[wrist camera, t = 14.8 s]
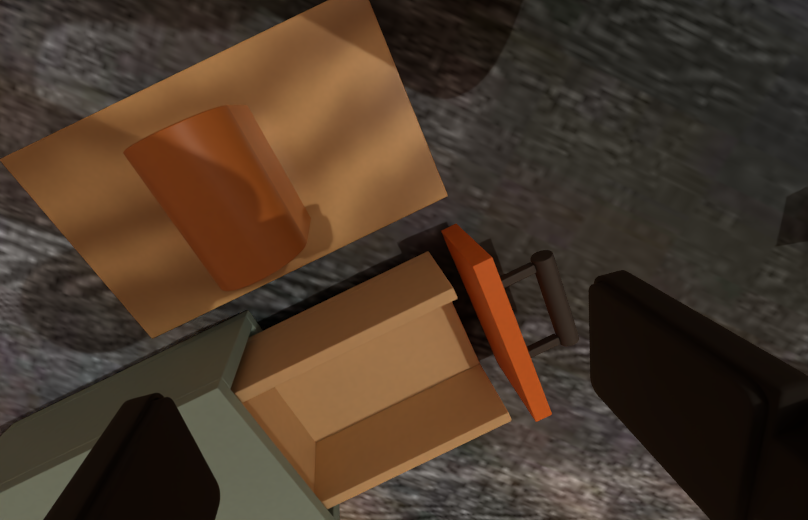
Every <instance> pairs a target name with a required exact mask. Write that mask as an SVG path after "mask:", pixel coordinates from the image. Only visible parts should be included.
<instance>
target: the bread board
mask: <svg viewBox="0 0 808 520" xmlns="http://www.w3.org/2000/svg"><path fill="white" fill-rule="evenodd" d="M223 105H247V106H248V107H249V109H250V111H251V113H252V114H253V116H254V118H255V120H256V122H257V123H258V125H259V127H260V129H261V130H262V132H263V134H264V136H265V138H266V139H267V141H268V143H269V145H270V146H271V148H272V150H273V152H274V153H275V155H276V157H277V159H278V161H279V162H280V164H281V166H282V168H283V169H284V171H285V173H286V175H287V177H288V178H289V180H290V182H291V184H292V185H293V187H294V189H295V191H296V192H297V194H298V196H299V198H300V200H301V201H302V203H303V205H304V207H305V208H306V210H307V212H308V214H309V216H310V217H311V222H310V228H309V234H308V240H307V244H306V246H305V248H304V249H303V250H302V251H301V253H300V254H299V255H298V256H296V257H295V258H294V259H293V260H292V261H291V262H289V263H288V264H287V265H285V266H284V267H282V268H281V269H279V270H278V271H276V272H275V273H273V274H271V275H270V276H268V277H266V278H264V279H262V280H260V281H258V282H256V283H254V284H252V285H249V286H247V287H244V288H241V289H238V290H234V291H228V292H227V291H223V290H221V289H220V287H219V286H218V285H217V283H216V282H215V281H214V279H213V278H212V276H211V275H210V274H209V272H208V271H207V269H206V268H205V267H204V265H203V264H202V262H201V261H200V260H199V258H198V257H197V255H196V254H195V253H194V251H193V250H192V249H191V247H190V246H189V244H188V243H187V242H186V240H185V239H184V237H183V236H182V235H181V233H180V232H179V230H178V229H177V228H176V226H175V225H174V224H173V222H172V221H171V219H170V218H169V217H168V215H167V214H166V212H165V211H164V210H163V208H162V207H161V205H160V204H159V203H158V201H157V200H156V199H155V197H154V196H153V194H152V193H151V192H150V190H149V189H148V187H147V186H146V185H145V183H144V182H143V180H142V179H141V178H140V176H139V175H138V174H137V172H136V171H135V169H134V168H133V167H132V165H131V164H130V162H129V161H128V160H127V158H126V157H125V155H124V154H123V152H124V150H125V149H126V148H128V147H129V146H131V145H132V144H134V143H136V142H138V141H139V140H141V139H143V138H145V137H147V136H149V135H151V134H153V133H155V132H157V131H159V130H161V129H163V128H165V127H168V126H170V125H172V124H174V123H176V122H179V121H181V120H183V119H186V118H188V117H191V116H193V115H196V114H198V113H201V112H203V111H206V110H209V109H212V108H215V107H219V106H223ZM0 161H1V162H2V163H3V165H4V166H5V167H6V168H7V169H8V170H9V172H10V173H11V174H12V175H13V176H14V177H15V179H16V180H17V181H18V182H19V183H20V185H21V186H22V187H23V188H24V189H25V190H26V192H27V193H28V194H29V195H30V196H31V197H32V199H33V200H34V201H35V202H36V203H37V204H38V206H39V207H40V208H41V209H42V210H43V212H44V213H45V214H46V215H47V216H48V217H49V219H50V220H51V221H52V222H53V223H54V224H55V226H56V227H57V228H58V229H59V230H60V231H61V233H62V234H63V235H64V236H65V237H66V238H67V240H68V241H69V242H70V243H71V244H72V246H73V247H74V248H75V249H76V250H77V251H78V253H79V254H80V255H81V256H82V257H83V258H84V260H85V261H86V262H87V263H88V264H89V265H90V267H91V268H92V269H93V270H94V271H95V273H96V274H97V275H98V276H99V277H100V278H101V280H102V281H103V282H104V283H105V284H106V285H107V287H108V288H109V289H110V290H111V291H112V292H113V294H114V295H115V296H116V297H117V298H118V299H119V301H120V302H121V303H122V304H123V305H124V307H125V308H126V309H127V310H128V311H129V312H130V314H131V315H132V316H133V317H134V318H135V319H136V321H137V322H138V323H139V324H140V325H141V326H142V328H143V329H144V330H145V331H146V332H147V334H148V335H149V336H150V337H151V338H152V339H153V338H155V337H157V336H159V335H161V334H163V333H165V332H168V331H170V330H172V329H174V328H176V327H178V326H180V325H182V324H184V323H186V322H188V321H190V320H192V319H194V318H197V317H199V316H201V315H203V314H205V313H207V312H209V311H211V310H213V309H215V308H217V307H219V306H221V305H223V304H225V303H228V302H230V301H232V300H234V299H236V298H238V297H240V296H242V295H244V294H246V293H248V292H250V291H252V290H254V289H257V288H259V287H261V286H263V285H265V284H267V283H269V282H271V281H273V280H275V279H277V278H279V277H281V276H283V275H285V274H288V273H290V272H292V271H294V270H296V269H298V268H300V267H302V266H304V265H306V264H308V263H310V262H312V261H314V260H317V259H319V258H321V257H323V256H325V255H327V254H329V253H331V252H333V251H335V250H337V249H339V248H341V247H343V246H346V245H348V244H350V243H352V242H354V241H356V240H358V239H360V238H362V237H364V236H366V235H368V234H370V233H372V232H374V231H377V230H379V229H381V228H383V227H385V226H387V225H389V224H391V223H393V222H395V221H397V220H399V219H401V218H403V217H406V216H408V215H410V214H412V213H414V212H416V211H418V210H420V209H422V208H424V207H426V206H428V205H430V204H432V203H434V202H437V201H439V200H441V199H443V198H445V197H447V196H448V195H447V192H446V190H445V187H444V185H443V182H442V180H441V177H440V175H439V172H438V170H437V168H436V165H435V163H434V160H433V158H432V155H431V153H430V150H429V148H428V145H427V143H426V140H425V138H424V135H423V133H422V130H421V128H420V125H419V123H418V120H417V118H416V115H415V113H414V110H413V108H412V106H411V103H410V101H409V98H408V96H407V93H406V91H405V88H404V86H403V83H402V81H401V78H400V76H399V73H398V71H397V68H396V66H395V63H394V61H393V58H392V56H391V53H390V51H389V48H388V46H387V44H386V41H385V39H384V36H383V34H382V31H381V29H380V26H379V24H378V21H377V19H376V16H375V14H374V11H373V9H372V6H371V4H370V1H369V0H327V1H325V2H323V3H321V4H319V5H317V6H315V7H313V8H311V9H309V10H307V11H305V12H303V13H301V14H299V15H296V16H294V17H292V18H290V19H288V20H286V21H284V22H282V23H280V24H278V25H276V26H274V27H272V28H270V29H268V30H266V31H263V32H261V33H259V34H257V35H255V36H253V37H251V38H249V39H247V40H245V41H243V42H241V43H239V44H237V45H235V46H232V47H230V48H228V49H226V50H224V51H222V52H220V53H218V54H216V55H214V56H212V57H210V58H208V59H206V60H204V61H201V62H199V63H197V64H195V65H193V66H191V67H189V68H187V69H185V70H183V71H181V72H179V73H177V74H175V75H173V76H170V77H168V78H166V79H164V80H162V81H160V82H158V83H156V84H154V85H152V86H150V87H148V88H146V89H144V90H142V91H140V92H137V93H135V94H133V95H131V96H129V97H127V98H125V99H123V100H121V101H119V102H117V103H115V104H113V105H111V106H109V107H106V108H104V109H102V110H100V111H98V112H96V113H94V114H92V115H90V116H88V117H86V118H84V119H82V120H80V121H78V122H75V123H73V124H71V125H69V126H67V127H65V128H63V129H61V130H59V131H57V132H55V133H53V134H51V135H49V136H47V137H44V138H42V139H40V140H38V141H36V142H34V143H32V144H30V145H28V146H26V147H24V148H22V149H20V150H18V151H16V152H14V153H11V154H9V155H7V156H5V157H3V158H1V159H0Z"/></svg>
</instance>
